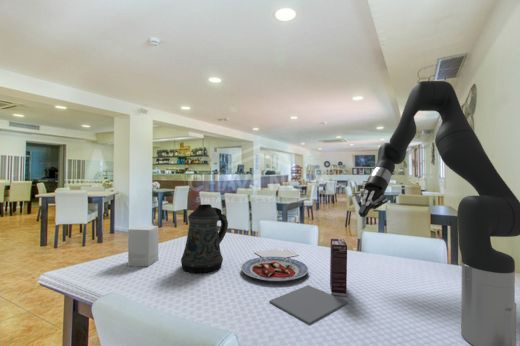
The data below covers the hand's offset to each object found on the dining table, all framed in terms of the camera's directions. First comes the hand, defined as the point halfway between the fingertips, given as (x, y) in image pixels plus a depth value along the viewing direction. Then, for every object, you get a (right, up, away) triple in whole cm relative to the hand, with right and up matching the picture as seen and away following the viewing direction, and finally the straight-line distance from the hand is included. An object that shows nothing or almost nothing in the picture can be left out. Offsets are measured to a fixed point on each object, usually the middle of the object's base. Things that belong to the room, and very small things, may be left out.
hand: (361, 215), depth 96 cm
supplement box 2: (-86, -23, +16) cm, 90 cm away
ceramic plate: (-31, -23, +7) cm, 39 cm away
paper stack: (-28, -23, +35) cm, 51 cm away
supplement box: (-11, -23, -9) cm, 27 cm away
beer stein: (-60, -23, +13) cm, 65 cm away
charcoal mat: (-23, -23, -18) cm, 37 cm away
